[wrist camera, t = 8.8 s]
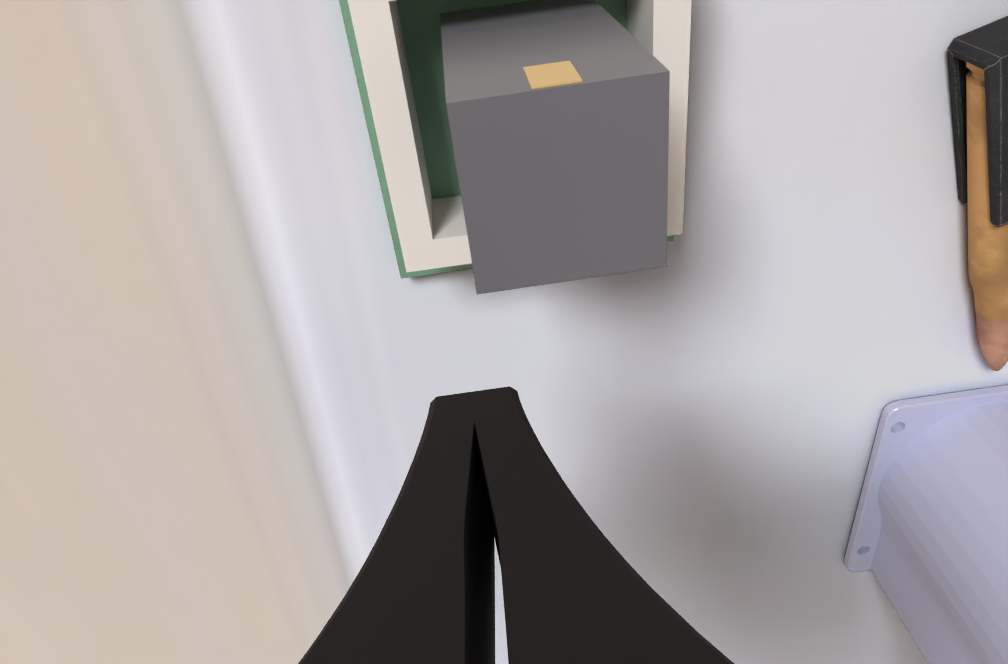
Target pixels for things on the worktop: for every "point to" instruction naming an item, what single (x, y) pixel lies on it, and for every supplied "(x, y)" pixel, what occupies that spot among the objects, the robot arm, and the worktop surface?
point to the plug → (556, 142)
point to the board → (425, 124)
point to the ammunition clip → (984, 174)
